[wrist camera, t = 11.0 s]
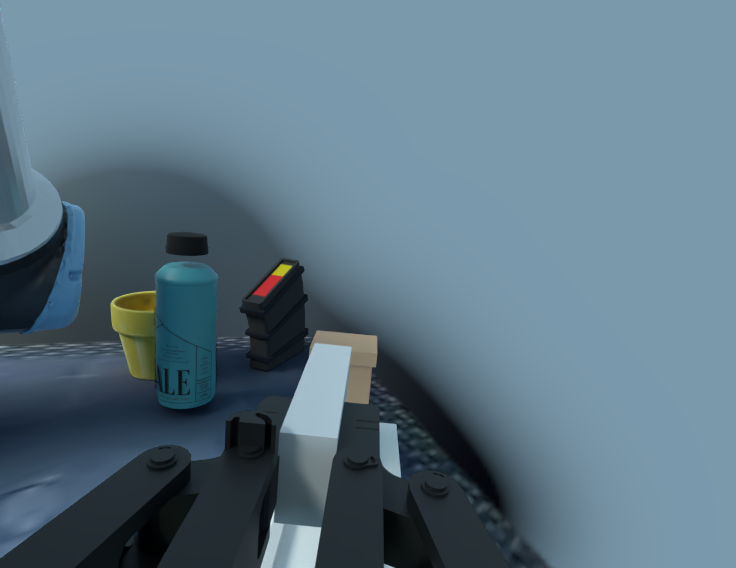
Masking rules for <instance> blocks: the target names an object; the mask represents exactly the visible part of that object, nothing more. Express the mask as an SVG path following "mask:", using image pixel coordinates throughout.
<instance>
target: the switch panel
mask: <svg viewBox="0 0 736 568" xmlns="http://www.w3.org/2000/svg"><path fill="white" fill-rule="evenodd" d="M379 425H380V430H379V431H380V459H381V462H382V465H383V467H384V468H385V469H386V470H387V471H389V472H390V473H392V474H393V475H395V476H397V477H400V478H401V471H400V460H399V449H398V438H397V426H396V424H389V423H379ZM274 510H275V509H274ZM320 533H321V527H311V526H301V525H291V524H282V523H274V512H273V515H272V519H271V522H270V538H269V541H268V545H267V548H266V551H265V555H264V558H263V561H262V565H261V568H315V563H316V557H317V551H318V545H319V539H320ZM384 568H394V567H391V566H389V565H386V564H384Z"/></svg>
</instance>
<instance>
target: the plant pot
mask: <svg viewBox="0 0 736 568" xmlns="http://www.w3.org/2000/svg"><path fill="white" fill-rule="evenodd" d="M155 296H156V291H146V292H137V293H131V294H126V295H123V296H120V297H117V298H115V299H114V300H113V301H112V302H111V318H112V326H113V328H114V330H115V331H116V332H118V333H119V335H120V339H121V342H122V345H123V349H124V352H125V356H126V360H127V363H128V367H129V370H130V373H131V375H132V376H134V377H135V378H138V379H143V380H155V369H156V359H155V358H156V354H155V353H156V351H155V349H156V348H155V347H156V334H155V333H156V325H155V324H156V313H155V315H154V308H155V307H156V297H155ZM154 319H155V321H154ZM154 322H155V324H154ZM154 330H155V331H154ZM154 332H155V333H154ZM154 352H155V353H154Z"/></svg>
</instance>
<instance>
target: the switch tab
mask: <svg viewBox="0 0 736 568" xmlns="http://www.w3.org/2000/svg"><path fill="white" fill-rule="evenodd" d="M315 343H319V344H329V345H339V346H348V347H352V349H351V359H350V369H349V379H348V389H347V399H346V402H351V403H361V404H368V403H369V393H370V383H371V373H372V367H376V360H377V336H370V335H360V334H349V333H338V332H328V331H327V332H326V331H317V332H316V334H315V336H314V339H313V341H312V343H311V346H310V350H309V356H310V354H311V351H312V349H313V346H314V344H315Z"/></svg>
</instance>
